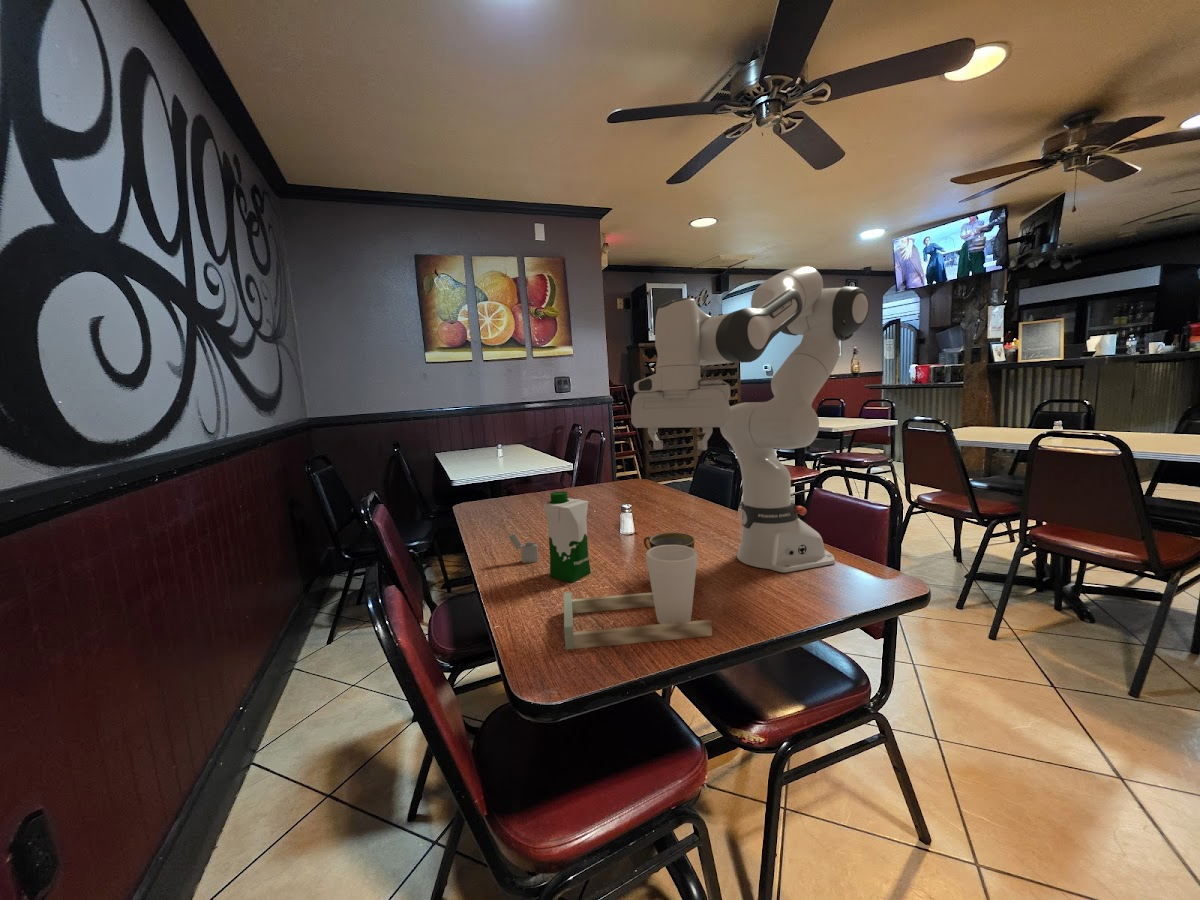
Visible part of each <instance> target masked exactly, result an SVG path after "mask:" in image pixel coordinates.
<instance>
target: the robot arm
mask: <svg viewBox="0 0 1200 900" xmlns="http://www.w3.org/2000/svg"><path fill="white" fill-rule="evenodd" d="M750 301H751V302H750V307H746V308H745V307H744V308H741V309H739V310H738V309H737V310H735V311H732V312H729V313H725V314H721V315H716V316H711V315H709V314H707V313H705V312H704V311H703V310H702V309H701V308H700V306H698V304H697V301H696V299H695V298H693V297H683V298H678V299H673V300H670V301H668V302H664V303H662V304H660V306H659V307H658V308H657V312H656V315H655V323H654V325H655V326H654V327H655V328H654V330H655V331H654V345H655V350H656V353H657V354H656V356H657V358H656V359H657V360H656V363H655V373H654V374H652V375H649V376H647V377H644V378H642V379H640V380H636V381H635V382H634V383H633V390H634V392H635V394H634V395H633V397H632V398H631V399H632V400H631V405H630V406H631V407H630V408H631V410H630V411H631V412H630V418H631V419H630V420H631V422H630V423H631V424H632V426H633V427H634V428H635V429H638V428H640V429H642V428H647V434H648V436H649V438H650V439H651V441H652V442H653V444H652V445H653V450H662V449H664V445H663V444H664V440H660V439H659V437H658V435H657V433H658V431H659V429H660V428H664V429H665V428H702V434H704V436H703V437H702V439H701V440H698V441H696V442H697V450H698V451H706V450H708V441H709V439H710V438H711V436H712V434H713V433H714V432H713V428H719V430H720V433H721V435H722V437H723V438H724V439H725V440H726V441H727V442H728V443H729V444H730V446H731V448H732V449H733V451H734V454H735V456H736V458H737V461H738V463H739V467H740V472H741V480H742V481H741V483H742V502H741V507H740V509H741V510H740V521H741V526H742V530H741V538H740V544H739V549H738V552H737V555H736V557H737V559H738V561H740V562H741V563H743V564H745V565H748V566H751V567H755V568H760V569H765V570H766V569H767V570H772V571H775V572H779V573H790V572H795V571H801V570H806V569H807V570H808V569H812V568H813V569H814V568H819V567H824V566H830V565H834V564H836V559H835V556H834V555H833V554H832V553H831V552H829V551H828V550H826V549H825V545H824V540H823V538H822V536H821V534H820V533H819V532H818V531H817V530H815V529H814V528H812V526H810V525H808V523H806V522H805V521H803V519H800V518H799V516H798V515H800V516H805V515H806V514H807V511H808V510H807V509H806V507H804V506H802V505H795V504H794V503H792V501H791V500H792V499H791V498H792V496H791V493H792V491H791V485H792V484H791V483H792V481H791V473H790V471H789V469H788V468H787V466H785V465H784V464H783V463H782V462H780V461H779V459H778V457H777V456H776V453H775V450H774V449H779V450H794V449H801V448H807V447H808V446H810V445H811V444H812V443H813V442H814V441H815V440H816V438H817V437H818V433H819V431H820V430H819V429H820V421H819V417H818V414H817V412H816V410H815V409H814V407H812V405H813V402H814V400H815V399H816V397H817V395H818V393H819V392H820V390H822V388H823V386H824V385H825V383H826V382H827V380H828V379H829V378H830V376H831V374H832V372H833V371H834V369H835V367H836V365H837V363H838V360H839V358H840V354H841V347H840V341H841V342H843V341H844V342H845V341H848V340H849V339H851V338H852V337H853V335H854V333H856V332H857V331H859V329H860V327H862V325H863V324H864V323H865V321H866V319H867V317H868V315H869V309H870V303H869V298H868V295H867V294H866V292H865V291H864V290H863V288H860V287H857V286H850V285H849V286H847V285H846V286H842V287H826V288H824V281H823V277H822V275H821V273H820V272H819V271H818V270H817V269H816V268H814V267H812V266H808V265H801V266H796V267H792V268H789V269H785V270H784V271H781V272H779V273H777V274H775V275H773V276H772V277H769V278H768V279H766V280H765V281H763V282H762V283H761V284H760V285H759V286H758V287H756V289H755V290H754V291H753V292H752V296H751V300H750ZM779 333H783V334H784V335H788V336H793V337H794V336H798V335H800V336H802V337H801V338H802V339H801V342H800V343H799V344H798V346H796V348H794V350H793V351H792V352H791V353H790V354H789V355H788V357H787V358H786V359H785V361H784V362H782V364H781V366H780V367H779V368H778V370H777V371H776V372H775V374H774V375H773V376H772V378H771V381H770V387H771V392H772V394H773V397H772V398H771V399H770V400H768V401H758V402H756V401H755V402H754V401H752V402H750V401H749V402H745V401H744V402H741V403H737V404H734V405H730V401H729V400H730V399H731V386H730V384H729V383H728V382H726V381H724V380H723V379H720V378H719V379H718V378H716V379H702V378H701V366H711V365H712V366H713V365H714V366H715V365H722V364H724V365H726V364H733V363H734V364H735V363H736V364H737V363H741V364H742V363H752V362H755V361H756V360H758V359H759V358H760V357H761V356H762V355H763V353H764V352H765V350H766V349H767V347H768V346H769V344H770V342H771V341H772V340H773V339H774V338H775V336H777V335H778V334H779Z"/></svg>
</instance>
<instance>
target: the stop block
mask: <svg viewBox="0 0 1200 900" xmlns="http://www.w3.org/2000/svg"><path fill="white" fill-rule="evenodd" d="M572 599H573V598H572V591H570V592H563V631H564V645H565V650H567V651H568V650H575V649H574V634H573V632H575V631H574V618H573V616H574V615H573V614H574V613H573V611H572Z"/></svg>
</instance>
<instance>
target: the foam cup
mask: <svg viewBox="0 0 1200 900" xmlns="http://www.w3.org/2000/svg"><path fill="white" fill-rule="evenodd" d="M698 555H699V552H698V551H697V550H696V549H695V548H694V549H693V548H691V547H687V546H683V545H661V546H656V547H653V548H651V547H650V549H649V550H648V549H647V551H646V553H645V558H646V559H645V560H646V561H645V562H646V563H645V565H646V568H647V569H648V576H649V581H650V582H649V583H650V587H651V592H652V594H653V599H654V605H655V606H654V610H655V615H656V621H657V622H658V623H659V624H667V623H678V622H688V621H692V615H693V614H692V612H693V603H694V594H695V585H696V576H697V569H698V565H699V560H698V558H699V557H698Z"/></svg>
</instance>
